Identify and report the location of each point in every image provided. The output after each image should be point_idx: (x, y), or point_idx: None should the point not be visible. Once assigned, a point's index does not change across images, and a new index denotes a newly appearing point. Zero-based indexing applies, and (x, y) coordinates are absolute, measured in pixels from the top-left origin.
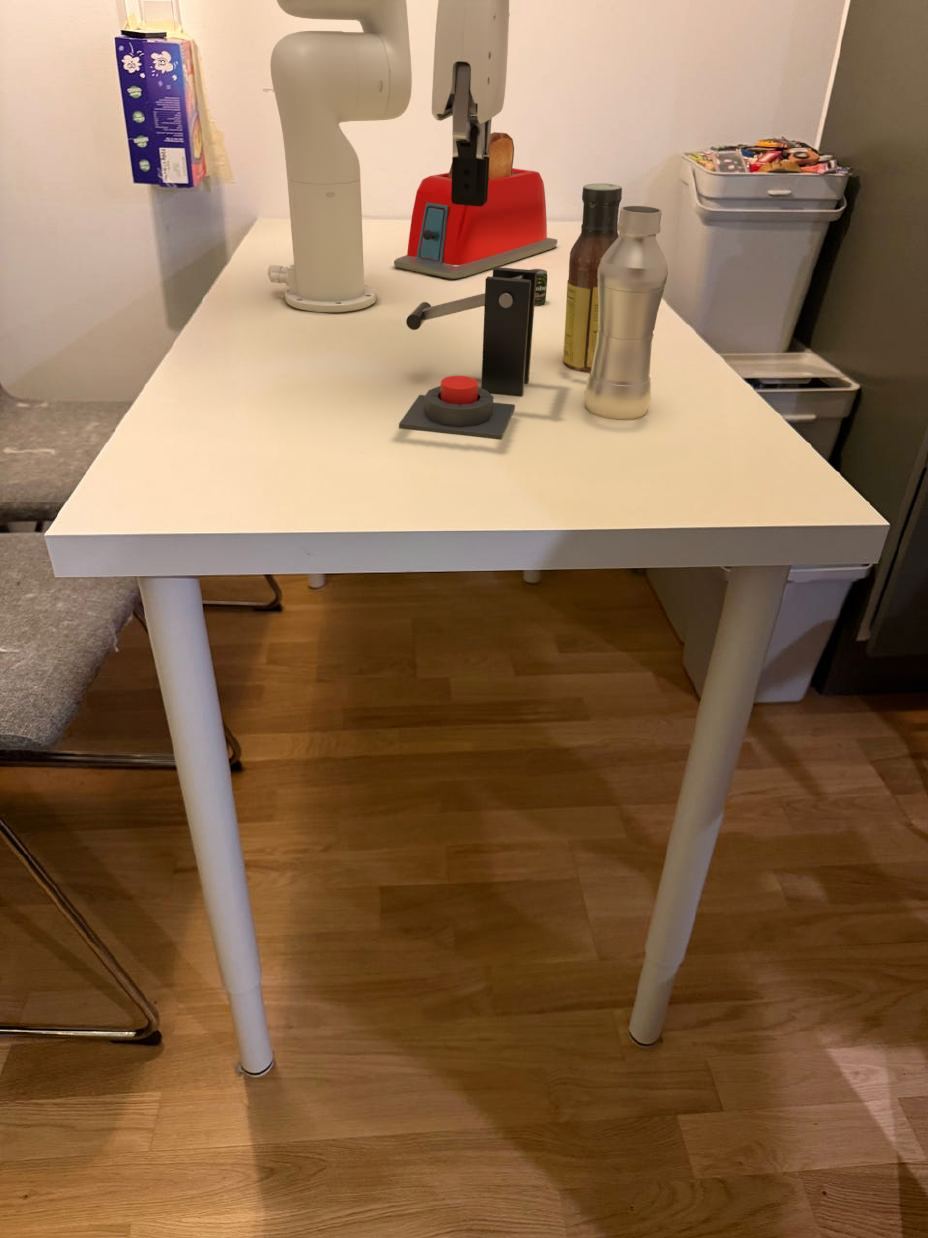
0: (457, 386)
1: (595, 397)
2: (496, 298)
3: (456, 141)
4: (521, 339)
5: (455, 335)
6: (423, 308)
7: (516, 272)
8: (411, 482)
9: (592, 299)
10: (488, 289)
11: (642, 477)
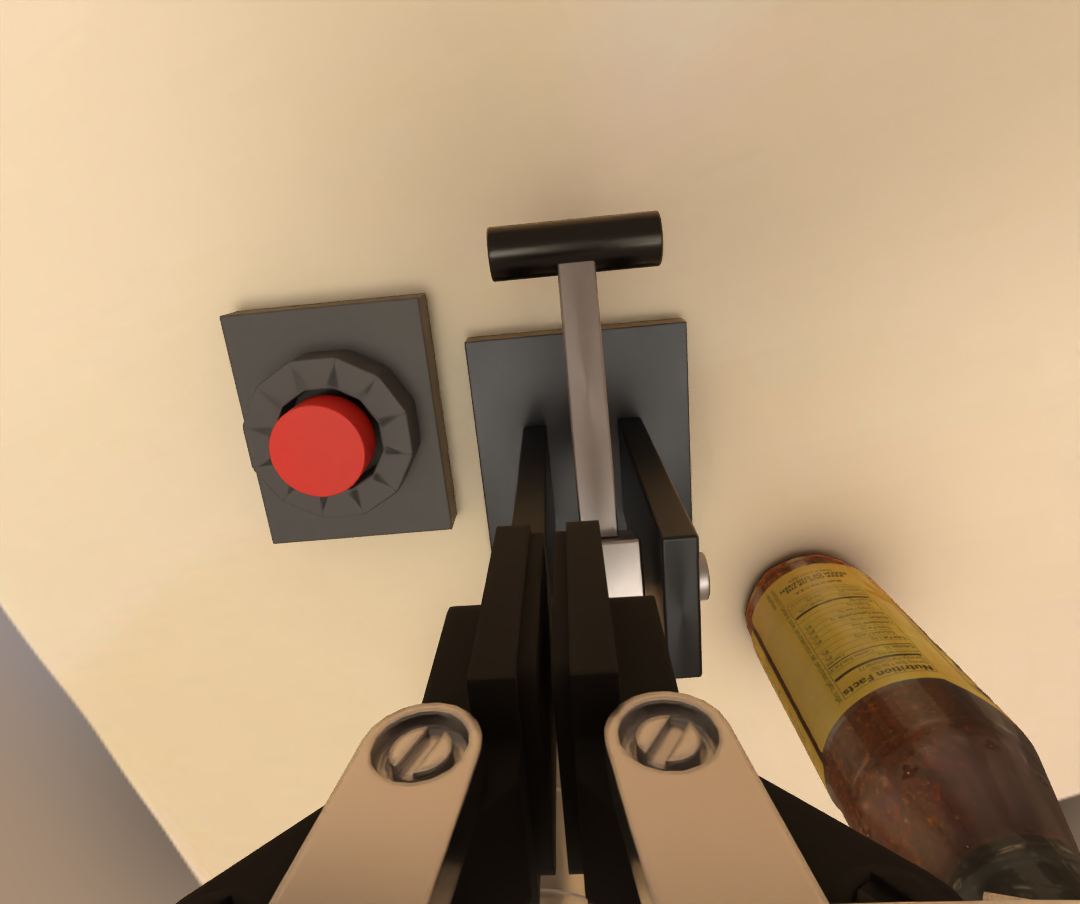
0: (285, 456)
1: None
2: None
3: (190, 895)
4: None
5: (1071, 182)
6: (586, 259)
7: (663, 617)
8: (66, 408)
9: (808, 741)
10: None
11: (302, 763)
